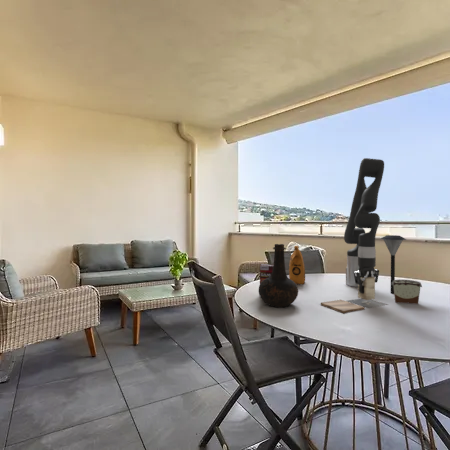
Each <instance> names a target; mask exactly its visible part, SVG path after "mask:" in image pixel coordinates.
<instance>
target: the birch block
mask: <svg viewBox="0 0 450 450" xmlns="http://www.w3.org/2000/svg"><path fill="white" fill-rule="evenodd" d="M361 278H364V277H361ZM361 282H362V280H361ZM375 286H376V282H375V277H367V278H365V284H364V294H362V293H360V292H359V284H358V287H357V289H358V290H357V292H358V293H357V297H358V298H357V299H365V300H370V299H372V300H375V299H376V298H375V297H376V295H375V294H376V292H375V291H376V290H375V289H376V287H375Z"/></svg>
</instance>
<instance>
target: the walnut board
mask: <svg viewBox="0 0 450 450" xmlns="http://www.w3.org/2000/svg"><path fill="white" fill-rule="evenodd" d="M347 301H348V300H343V299H337V300H336V299H335V300H329V301H324V302H320V306H323V307H325V308H328V309H331V310H332V311H333V310H334V311H336V312H338V313H342V314H346V313H350V312H356V311H357V312H358V311H362V310H365V308H366V307H363V306H359V305H356V304H353V303H350V302H347Z"/></svg>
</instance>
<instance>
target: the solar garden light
mask: <svg viewBox="0 0 450 450" xmlns="http://www.w3.org/2000/svg"><path fill="white" fill-rule="evenodd" d="M380 240H383V242H384V244H385V246H386V247H387V249H388V252H389V254H390V294H394V287H393V285H392V282H393V280H396V277H395V276H396V273H395V272H396V254H397V252H398V250H399V249H400V246H401V244H402V243H403V241H407V238H405V237H403V236H401V235H397V234H396V235H394V234H393V235H392V234H389V235H388V234H387V235H385V236H383V237H381V238H380Z"/></svg>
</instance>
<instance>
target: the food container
mask: <svg viewBox="0 0 450 450" xmlns="http://www.w3.org/2000/svg"><path fill="white" fill-rule="evenodd" d="M392 285H393V287H394V302H395V303H401V304H416V305H419V302H420V301H419V300H420V292H421V288H423V286H422V283H421V282H420V281H417V280H413V279H412V280H411V279H395V280H393V282H392Z"/></svg>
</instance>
